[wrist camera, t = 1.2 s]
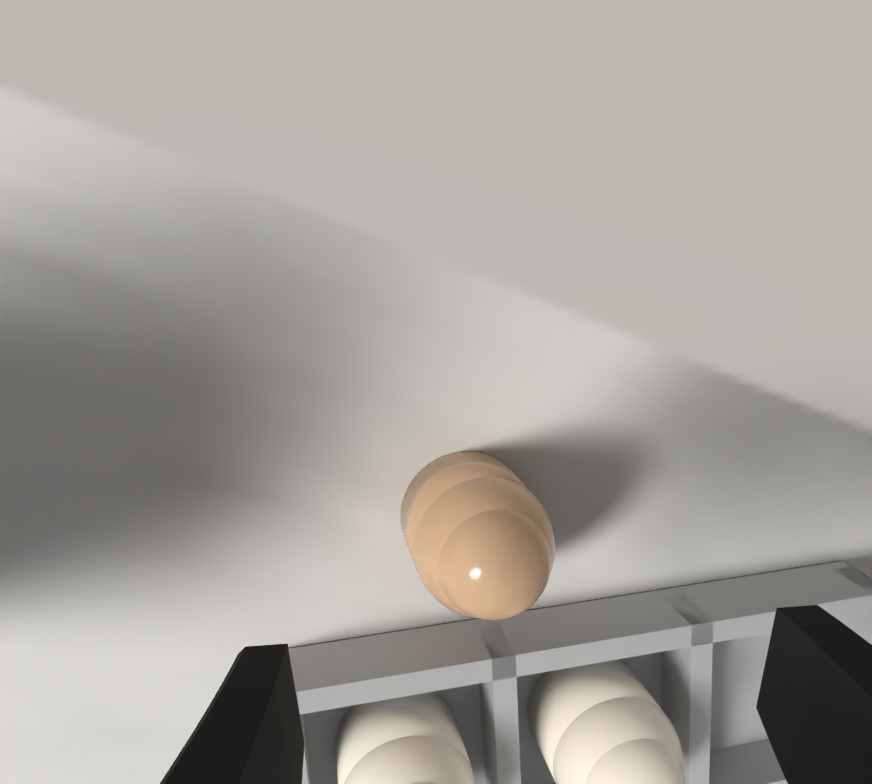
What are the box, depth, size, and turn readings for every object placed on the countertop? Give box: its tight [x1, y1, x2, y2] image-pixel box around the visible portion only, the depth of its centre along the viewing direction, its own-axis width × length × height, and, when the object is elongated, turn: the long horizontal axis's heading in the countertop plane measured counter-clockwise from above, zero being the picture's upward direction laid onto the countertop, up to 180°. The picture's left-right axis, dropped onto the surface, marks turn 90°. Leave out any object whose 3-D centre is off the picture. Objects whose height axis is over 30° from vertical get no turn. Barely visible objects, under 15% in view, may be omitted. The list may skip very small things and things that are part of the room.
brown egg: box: [401, 451, 555, 620], centre depth 19 cm, size 4×4×5 cm
